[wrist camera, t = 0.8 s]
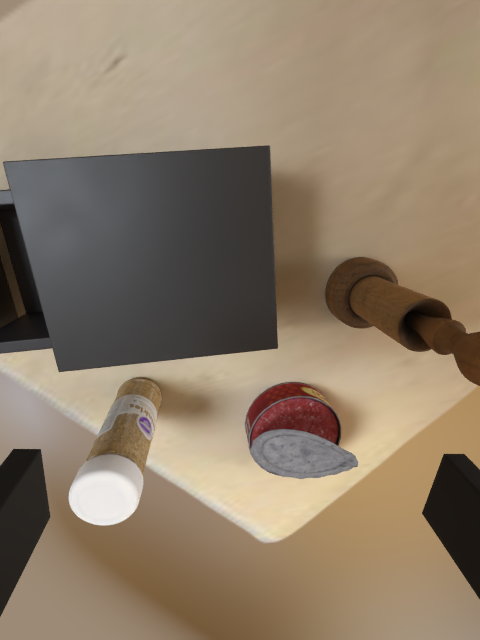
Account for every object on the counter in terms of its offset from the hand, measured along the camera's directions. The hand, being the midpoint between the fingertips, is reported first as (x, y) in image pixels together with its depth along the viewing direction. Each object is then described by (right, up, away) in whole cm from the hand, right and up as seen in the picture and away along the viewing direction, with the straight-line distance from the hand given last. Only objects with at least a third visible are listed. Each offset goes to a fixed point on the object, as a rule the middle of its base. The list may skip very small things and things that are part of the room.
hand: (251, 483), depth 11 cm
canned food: (+5, -6, +27) cm, 28 cm away
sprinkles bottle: (-11, -2, +24) cm, 26 cm away
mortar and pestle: (+11, +8, +23) cm, 27 cm away
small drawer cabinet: (-7, +12, +19) cm, 24 cm away
